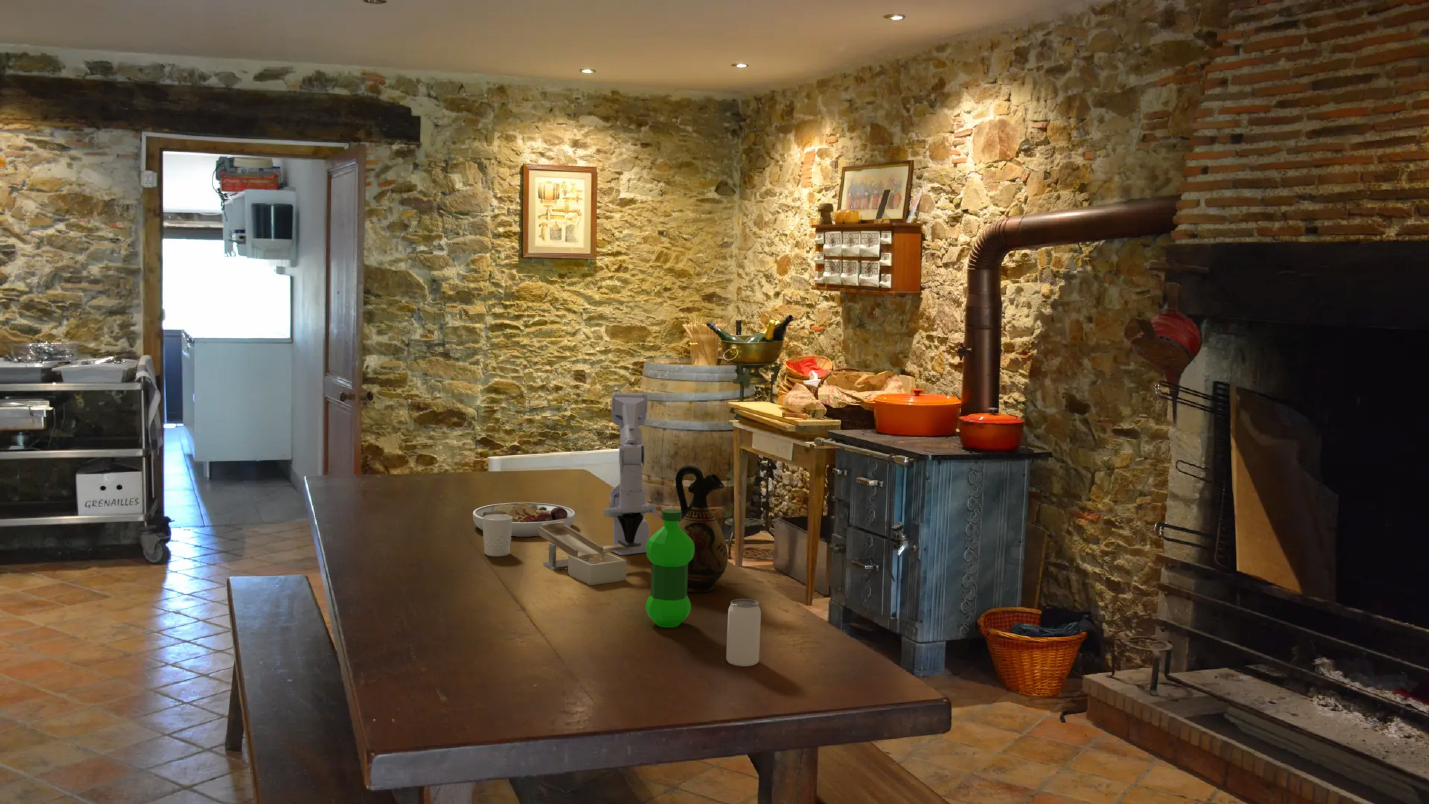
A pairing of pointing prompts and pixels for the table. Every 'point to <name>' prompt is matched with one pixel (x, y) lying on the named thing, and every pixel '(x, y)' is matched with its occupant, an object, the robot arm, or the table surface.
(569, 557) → the cream open box
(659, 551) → the plastic bottle
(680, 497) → the ceramic jug
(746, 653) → the can
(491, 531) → the white cup
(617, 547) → the lever
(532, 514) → the bowl
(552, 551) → the lever stand
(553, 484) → the table surface
